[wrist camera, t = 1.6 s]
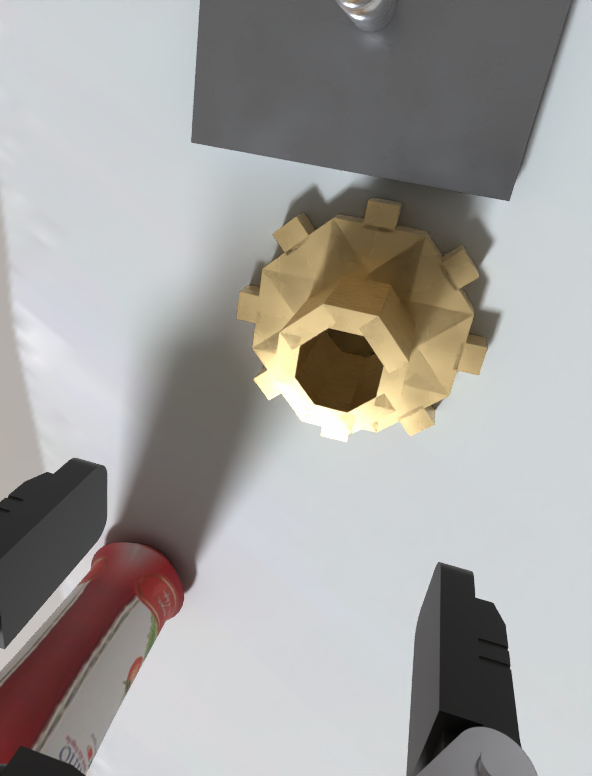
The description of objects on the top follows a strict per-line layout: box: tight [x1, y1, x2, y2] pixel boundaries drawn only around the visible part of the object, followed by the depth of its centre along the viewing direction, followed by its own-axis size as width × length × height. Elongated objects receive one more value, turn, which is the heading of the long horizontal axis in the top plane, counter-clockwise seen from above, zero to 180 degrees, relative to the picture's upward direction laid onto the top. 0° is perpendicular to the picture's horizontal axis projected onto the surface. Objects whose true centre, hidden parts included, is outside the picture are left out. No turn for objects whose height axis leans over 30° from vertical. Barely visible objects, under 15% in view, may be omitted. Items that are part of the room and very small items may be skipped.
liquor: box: [0, 542, 184, 775], centre depth 27 cm, size 7×7×28 cm
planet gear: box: [237, 197, 488, 442], centre depth 25 cm, size 12×12×6 cm
